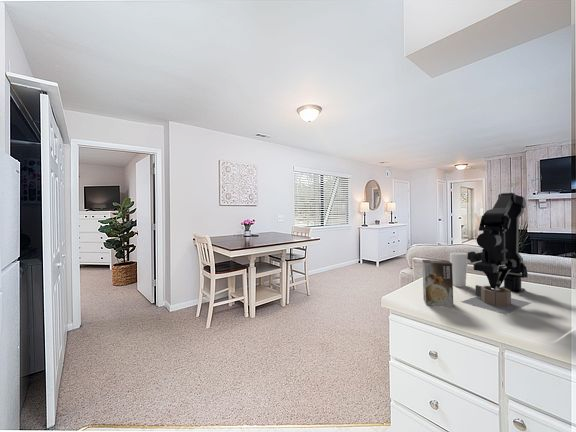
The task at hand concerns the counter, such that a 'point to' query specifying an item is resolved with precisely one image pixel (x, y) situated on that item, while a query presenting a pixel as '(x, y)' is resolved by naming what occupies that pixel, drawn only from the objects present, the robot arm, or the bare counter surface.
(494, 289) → the silver stemmed round piece
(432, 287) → the coffee box
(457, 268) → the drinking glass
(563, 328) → the counter surface
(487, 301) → the brown octagonal ring
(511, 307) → the mat
